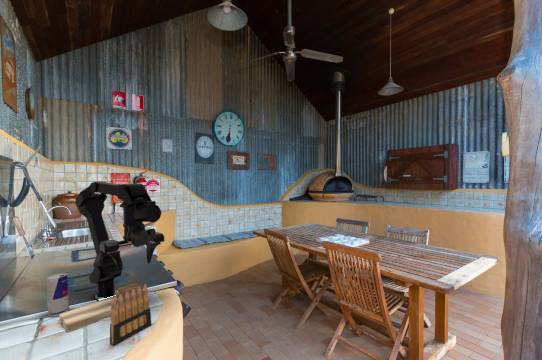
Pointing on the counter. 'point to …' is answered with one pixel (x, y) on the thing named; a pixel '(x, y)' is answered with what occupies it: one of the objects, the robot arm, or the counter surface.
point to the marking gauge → (129, 290)
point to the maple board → (87, 314)
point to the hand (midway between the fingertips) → (134, 266)
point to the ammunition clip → (129, 316)
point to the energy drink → (57, 294)
